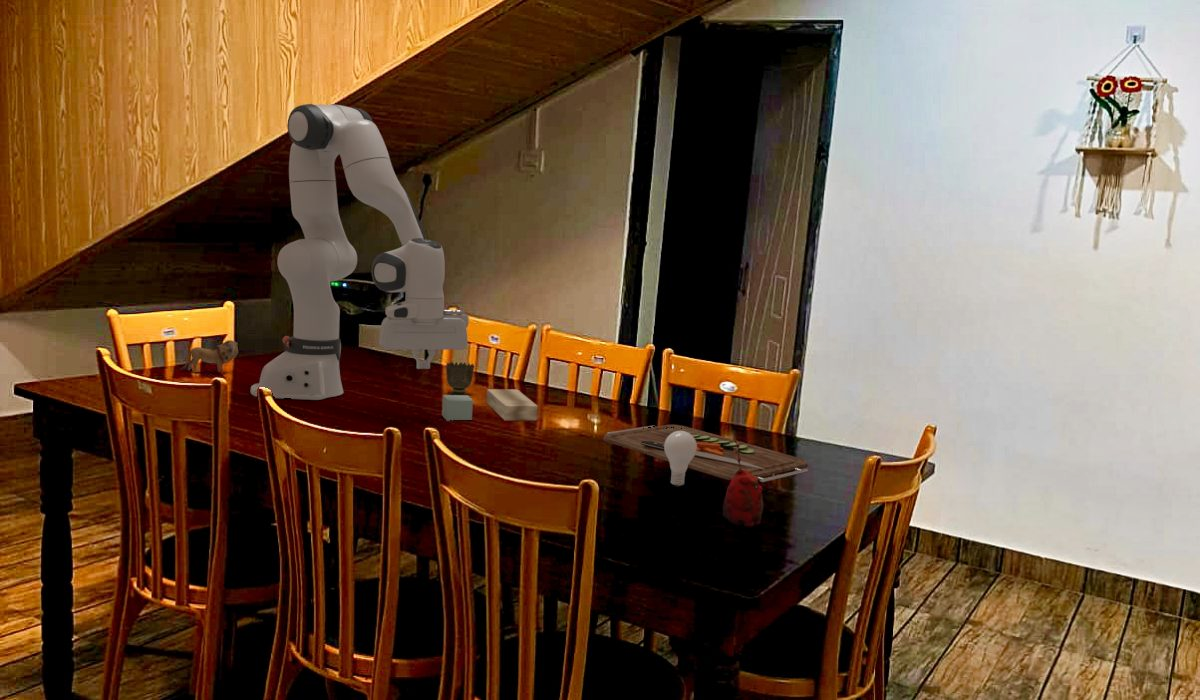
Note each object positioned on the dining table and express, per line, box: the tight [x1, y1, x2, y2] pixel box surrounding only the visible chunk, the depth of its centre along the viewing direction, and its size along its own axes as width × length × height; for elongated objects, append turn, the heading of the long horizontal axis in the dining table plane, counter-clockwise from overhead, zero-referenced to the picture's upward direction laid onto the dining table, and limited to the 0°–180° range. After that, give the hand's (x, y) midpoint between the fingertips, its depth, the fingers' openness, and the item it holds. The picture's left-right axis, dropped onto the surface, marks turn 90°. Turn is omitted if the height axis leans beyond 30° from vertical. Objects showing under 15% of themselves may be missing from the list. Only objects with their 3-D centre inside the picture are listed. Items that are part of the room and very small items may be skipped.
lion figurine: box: [179, 339, 239, 373], centre depth 278 cm, size 15×5×9 cm, turn 103°
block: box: [441, 394, 474, 422], centre depth 246 cm, size 6×6×5 cm
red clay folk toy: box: [722, 437, 764, 528], centre depth 182 cm, size 8×7×15 cm
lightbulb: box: [664, 431, 697, 488], centre depth 201 cm, size 6×6×11 cm
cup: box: [445, 361, 475, 395], centre depth 274 cm, size 8×7×8 cm
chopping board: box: [603, 424, 809, 483], centre depth 231 cm, size 45×27×3 cm, turn 45°
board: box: [485, 388, 539, 421], centre depth 258 cm, size 8×20×4 cm, turn 19°
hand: (423, 368), depth 242 cm, fingers closed
